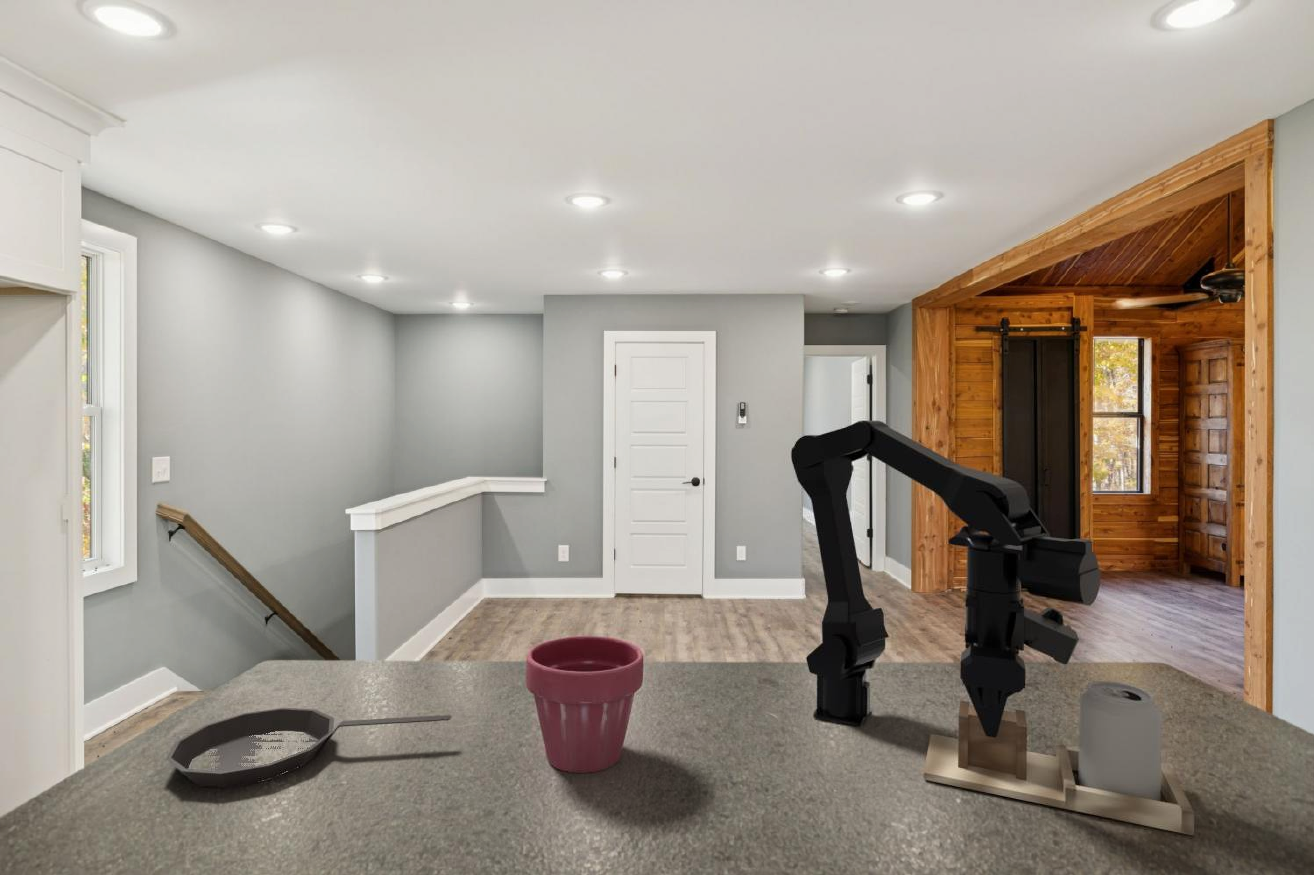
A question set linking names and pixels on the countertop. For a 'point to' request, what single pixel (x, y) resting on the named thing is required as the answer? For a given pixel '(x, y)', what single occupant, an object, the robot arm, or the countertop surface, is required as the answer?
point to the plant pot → (584, 698)
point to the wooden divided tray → (1042, 774)
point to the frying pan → (237, 743)
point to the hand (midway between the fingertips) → (991, 720)
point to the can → (1120, 740)
